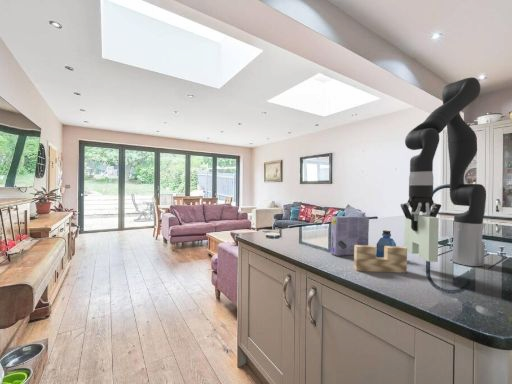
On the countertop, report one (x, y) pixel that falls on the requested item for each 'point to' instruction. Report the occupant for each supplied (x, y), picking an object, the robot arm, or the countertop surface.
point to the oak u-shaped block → (380, 259)
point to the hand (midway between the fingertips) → (419, 230)
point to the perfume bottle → (384, 243)
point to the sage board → (423, 237)
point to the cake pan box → (348, 234)
